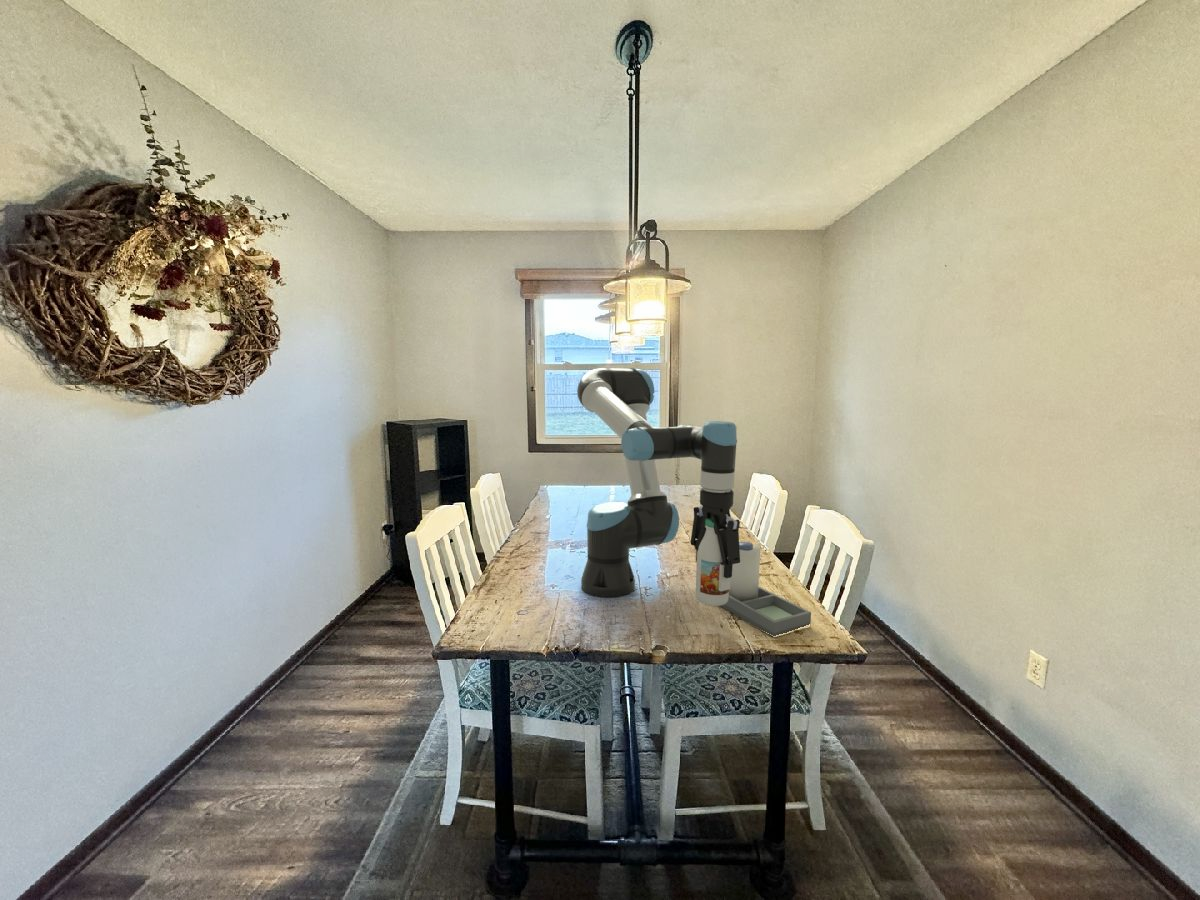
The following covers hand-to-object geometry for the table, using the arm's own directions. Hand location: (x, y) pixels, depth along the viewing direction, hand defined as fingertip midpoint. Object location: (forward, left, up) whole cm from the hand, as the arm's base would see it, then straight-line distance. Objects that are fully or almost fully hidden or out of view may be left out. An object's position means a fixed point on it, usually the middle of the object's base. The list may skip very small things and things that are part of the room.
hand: (712, 582), depth 119 cm
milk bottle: (0, 0, -4) cm, 4 cm away
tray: (+14, -1, -10) cm, 17 cm away
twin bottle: (+14, +5, -9) cm, 17 cm away
